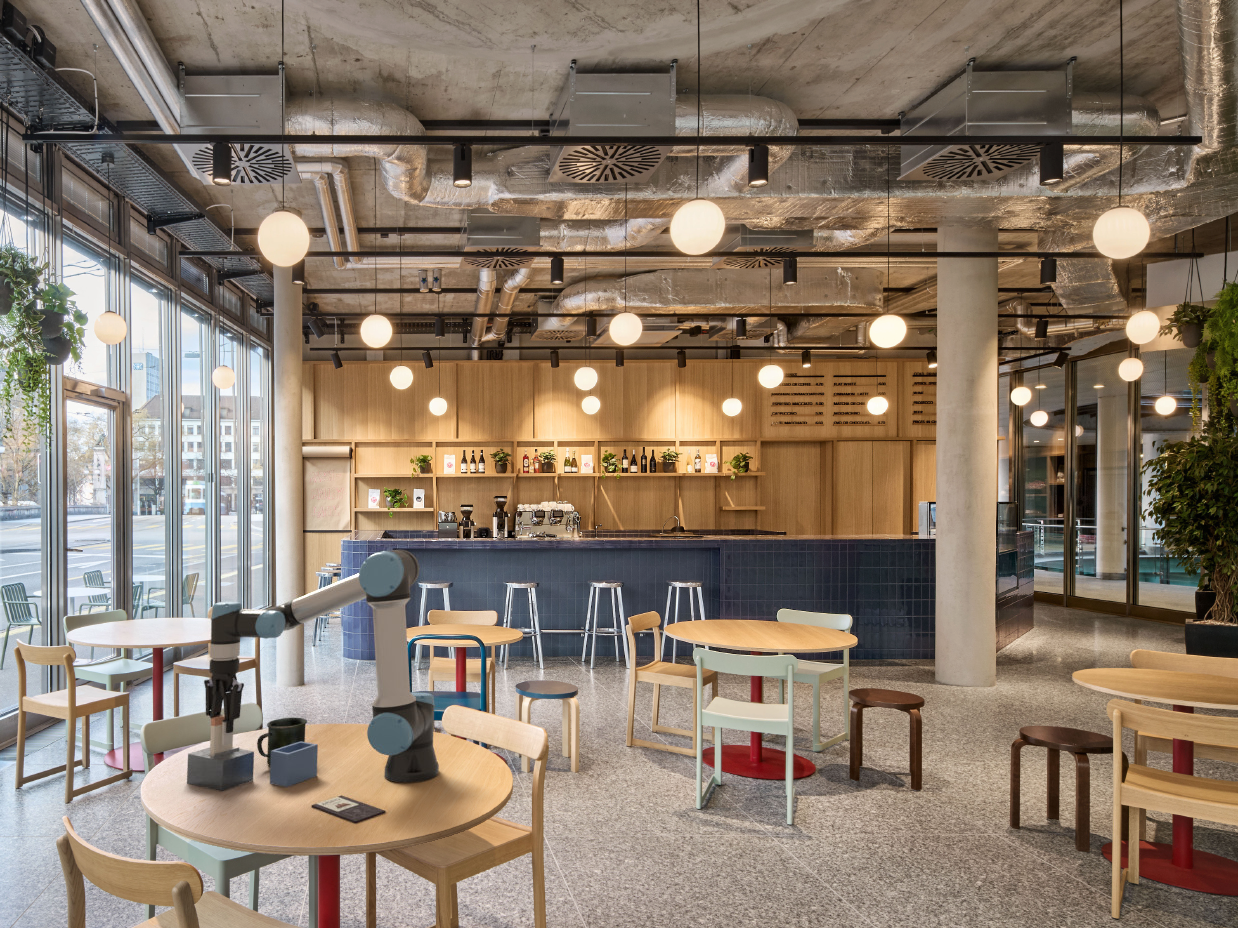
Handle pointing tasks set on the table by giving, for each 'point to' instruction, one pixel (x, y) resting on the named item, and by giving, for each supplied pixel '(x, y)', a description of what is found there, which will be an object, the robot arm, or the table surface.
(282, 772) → the blue open box
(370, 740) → the robot arm
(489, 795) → the table surface
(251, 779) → the dispenser
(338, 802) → the chocolate bar
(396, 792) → the table surface
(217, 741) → the ticket
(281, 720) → the mug
